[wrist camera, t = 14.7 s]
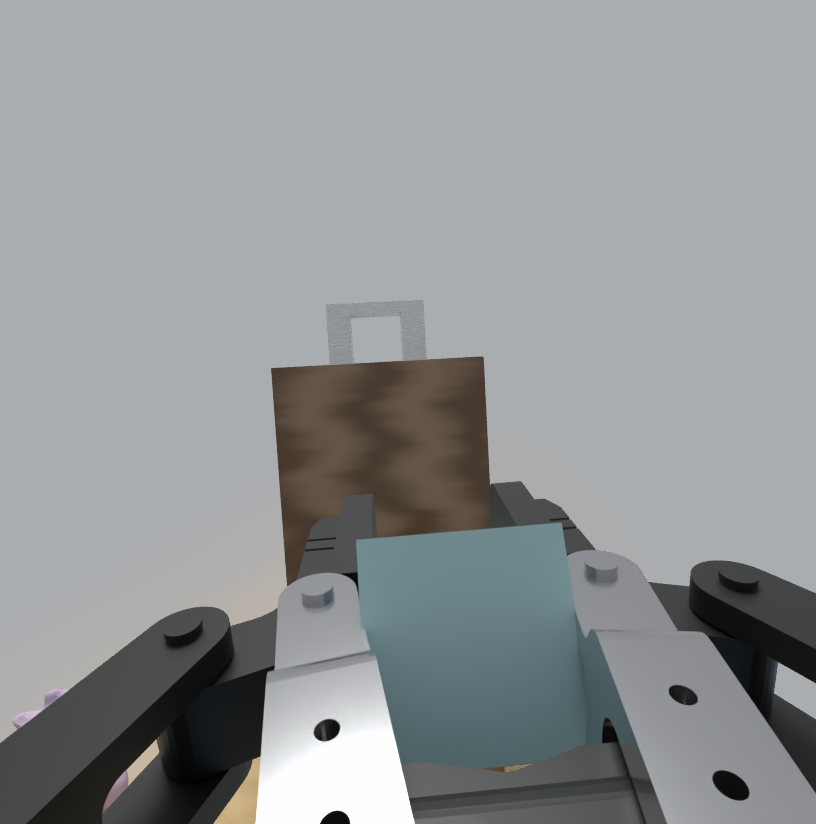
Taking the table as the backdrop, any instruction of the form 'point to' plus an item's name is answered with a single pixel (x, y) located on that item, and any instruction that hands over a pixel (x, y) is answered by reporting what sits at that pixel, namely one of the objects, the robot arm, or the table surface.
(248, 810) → the table surface
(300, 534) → the plinth
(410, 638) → the peg
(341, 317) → the arch
